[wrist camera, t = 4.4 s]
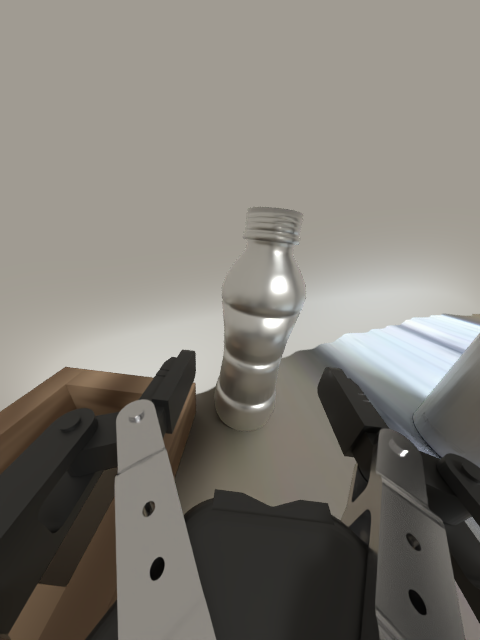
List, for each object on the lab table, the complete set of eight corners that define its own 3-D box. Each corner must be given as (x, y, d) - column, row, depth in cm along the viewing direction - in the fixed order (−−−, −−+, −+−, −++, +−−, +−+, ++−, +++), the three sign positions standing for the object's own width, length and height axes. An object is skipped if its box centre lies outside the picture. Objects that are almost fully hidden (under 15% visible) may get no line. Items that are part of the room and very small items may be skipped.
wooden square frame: (195, 412, 19) (195, 382, 17) (102, 704, 7) (66, 714, 5) (78, 397, 20) (65, 366, 18) (-207, 660, 7) (-354, 655, 5)
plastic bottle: (225, 383, 24) (239, 215, 15) (274, 399, 22) (321, 222, 13) (202, 427, 18) (205, 198, 9) (266, 452, 16) (340, 206, 8)
